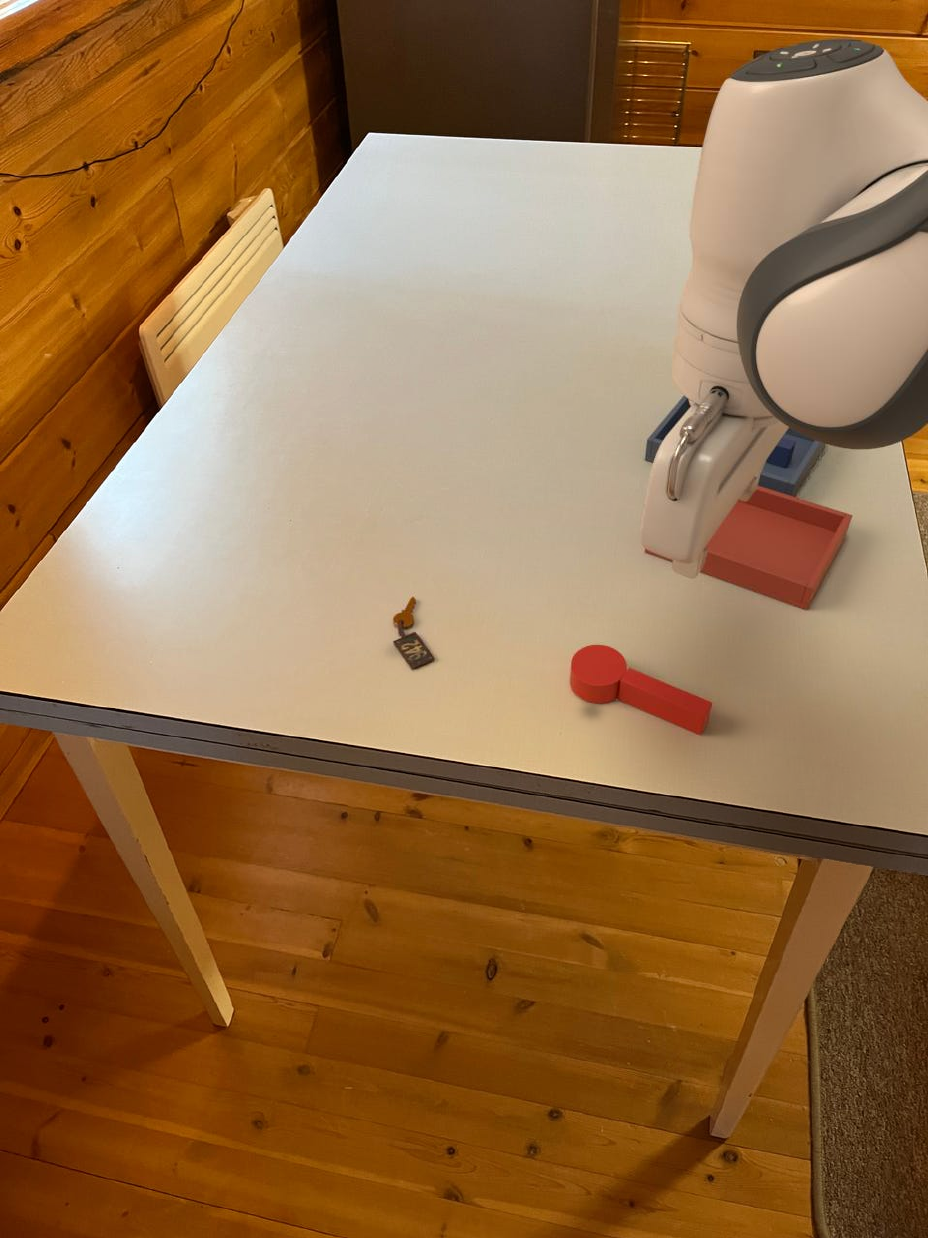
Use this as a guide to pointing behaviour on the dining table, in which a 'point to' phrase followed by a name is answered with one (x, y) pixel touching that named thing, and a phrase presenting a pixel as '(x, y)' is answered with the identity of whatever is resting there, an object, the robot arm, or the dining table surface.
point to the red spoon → (634, 688)
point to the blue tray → (771, 474)
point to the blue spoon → (782, 453)
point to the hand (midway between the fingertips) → (715, 530)
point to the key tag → (411, 639)
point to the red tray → (776, 546)
